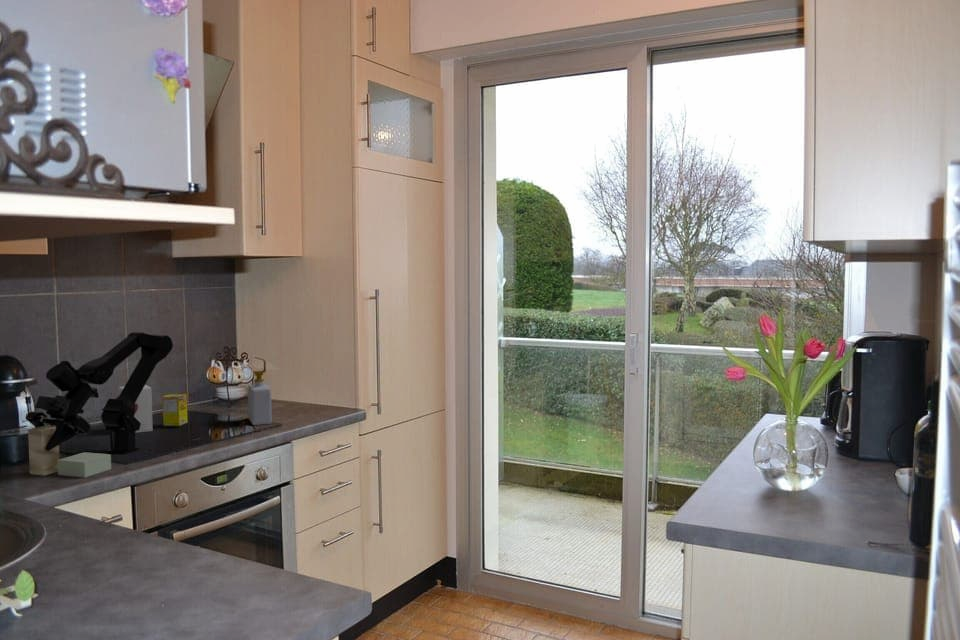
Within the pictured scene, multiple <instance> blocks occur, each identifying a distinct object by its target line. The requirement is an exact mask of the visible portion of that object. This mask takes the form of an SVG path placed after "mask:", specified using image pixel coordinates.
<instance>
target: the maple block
mask: <svg viewBox="0 0 960 640" xmlns="http://www.w3.org/2000/svg"><path fill="white" fill-rule="evenodd" d="M55 431H56V426H52V427H51V426H42V427H37V428H35V427H33V428H29V429H27V436H28V458H29V459H28V460H29V462H28V463H29V465H28V466H29V474H30V475H36V476H47V475H50V474H54V473H58V461H57V460H59V459H60V444H59V445H58V446H56V447H54V448H53V449H51V450H49V451H47V450H46V449H45V448H46V446H47V444H48V442H49V440H50V439H51V437H52V436H53V434H54V432H55Z"/></svg>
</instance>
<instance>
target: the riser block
mask: <svg viewBox="0 0 960 640" xmlns="http://www.w3.org/2000/svg"><path fill="white" fill-rule="evenodd" d="M57 461H58V472H57V475H58V476H65V477H75V478H87V477H91V476H95V475H97V474H99V473H103V472H107V471H109V470H112V454H108V453H98V452H96V453H95V452H88V451H87V452H81V453H77V454H73V455H70V456H67V457H62V458H59V460H57Z"/></svg>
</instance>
